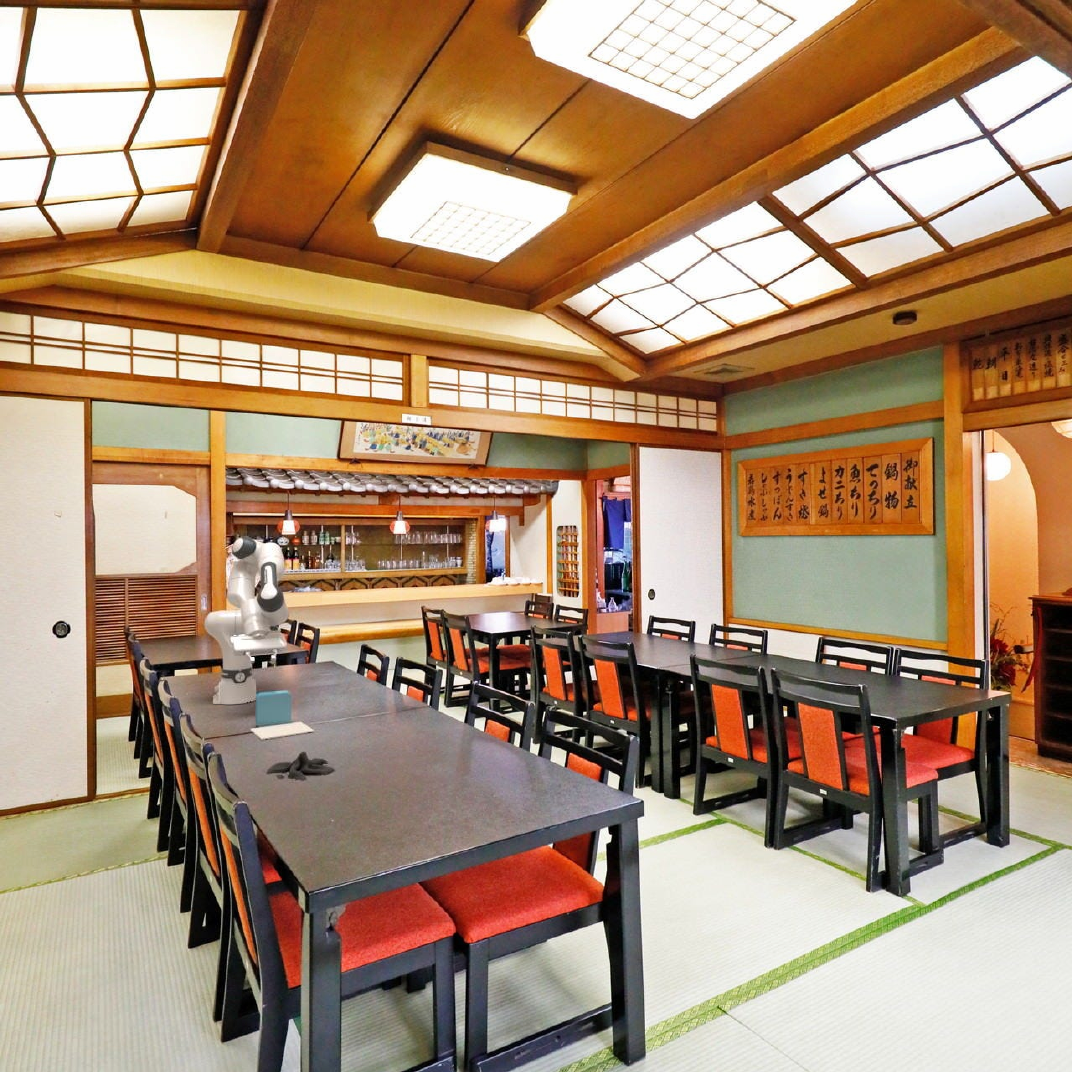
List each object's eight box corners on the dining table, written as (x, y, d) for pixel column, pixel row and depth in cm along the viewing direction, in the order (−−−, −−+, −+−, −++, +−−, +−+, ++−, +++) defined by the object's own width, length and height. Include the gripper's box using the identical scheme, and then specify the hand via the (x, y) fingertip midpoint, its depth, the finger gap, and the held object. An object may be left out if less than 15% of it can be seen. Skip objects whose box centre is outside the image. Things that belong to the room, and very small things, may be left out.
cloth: (259, 769, 207) (259, 748, 207) (322, 759, 217) (322, 739, 217) (277, 791, 189) (277, 768, 189) (345, 778, 199) (345, 757, 199)
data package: (289, 721, 262) (289, 689, 262) (291, 724, 258) (291, 692, 258) (255, 725, 257) (255, 692, 257) (256, 728, 253) (257, 695, 253)
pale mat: (250, 730, 249) (250, 728, 249) (300, 723, 260) (300, 721, 260) (261, 740, 236) (261, 738, 236) (314, 732, 247) (314, 730, 247)
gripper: (230, 630, 271) (236, 658, 262) (284, 627, 282) (291, 654, 274) (227, 640, 274) (233, 669, 266) (281, 636, 286) (287, 663, 278)
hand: (263, 661), depth 270 cm, fingers open, 7 cm apart
